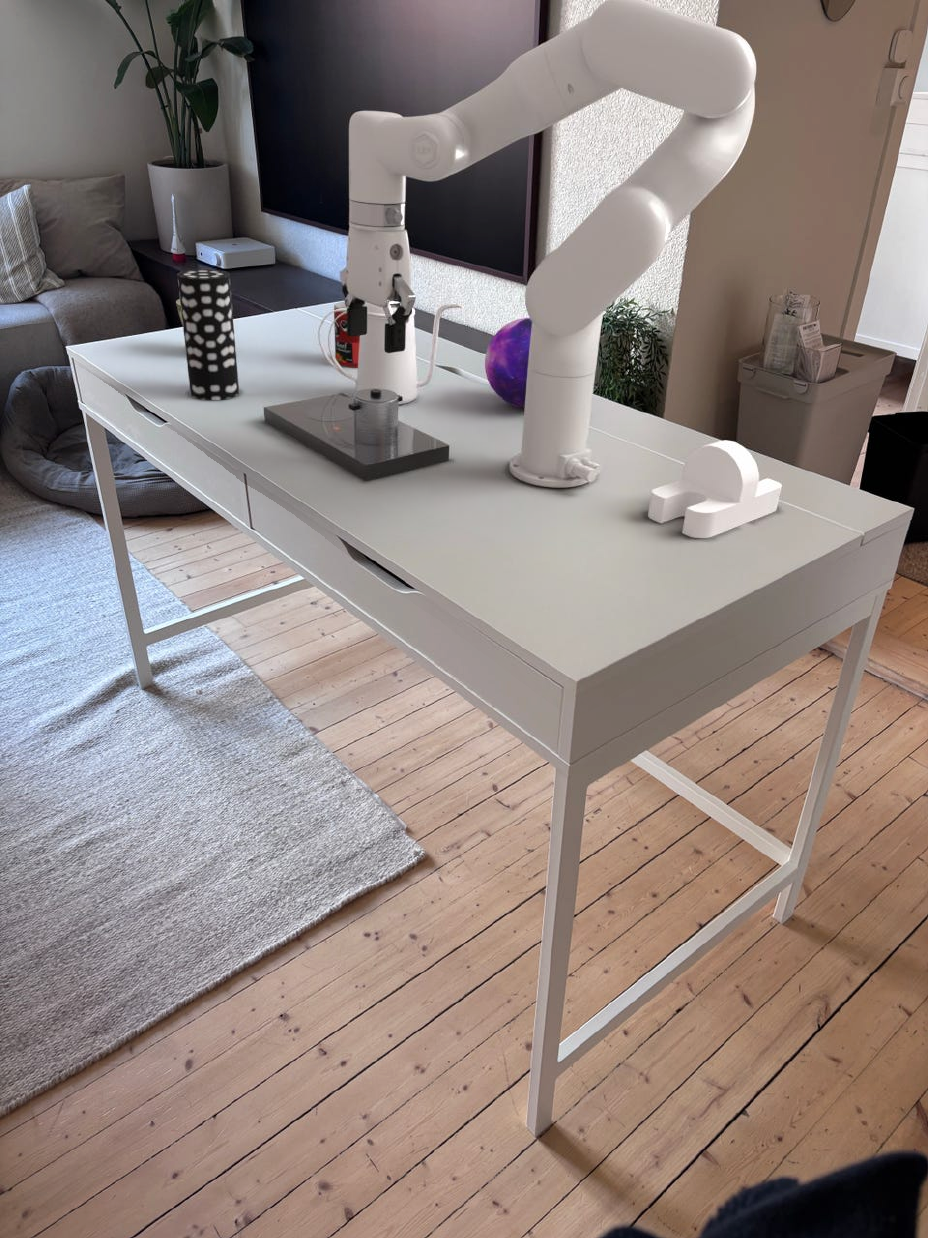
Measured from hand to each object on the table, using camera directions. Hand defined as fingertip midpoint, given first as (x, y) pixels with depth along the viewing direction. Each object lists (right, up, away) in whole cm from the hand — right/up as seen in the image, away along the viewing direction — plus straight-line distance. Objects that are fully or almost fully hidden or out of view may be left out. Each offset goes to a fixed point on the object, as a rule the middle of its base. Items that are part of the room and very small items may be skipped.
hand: (375, 343), depth 135 cm
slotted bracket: (+47, -25, -6) cm, 54 cm away
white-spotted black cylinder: (-31, 0, +30) cm, 43 cm away
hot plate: (-5, -12, +12) cm, 18 cm away
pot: (0, -12, +7) cm, 14 cm away
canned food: (-9, +11, +50) cm, 52 cm away
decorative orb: (+24, -2, +31) cm, 39 cm away
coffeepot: (0, 0, +32) cm, 32 cm away
